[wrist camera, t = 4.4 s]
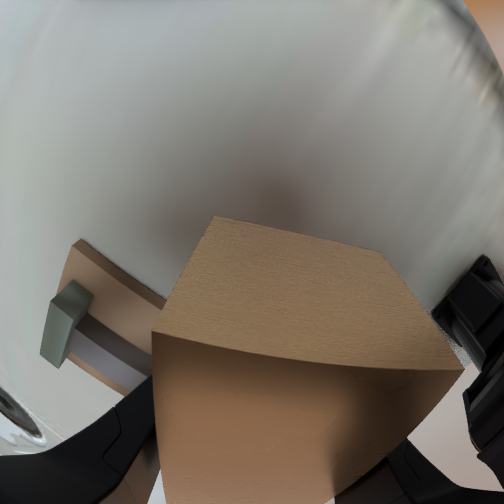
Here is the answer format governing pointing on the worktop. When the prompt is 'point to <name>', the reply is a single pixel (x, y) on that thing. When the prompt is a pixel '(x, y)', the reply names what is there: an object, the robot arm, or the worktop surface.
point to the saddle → (288, 367)
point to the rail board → (101, 321)
